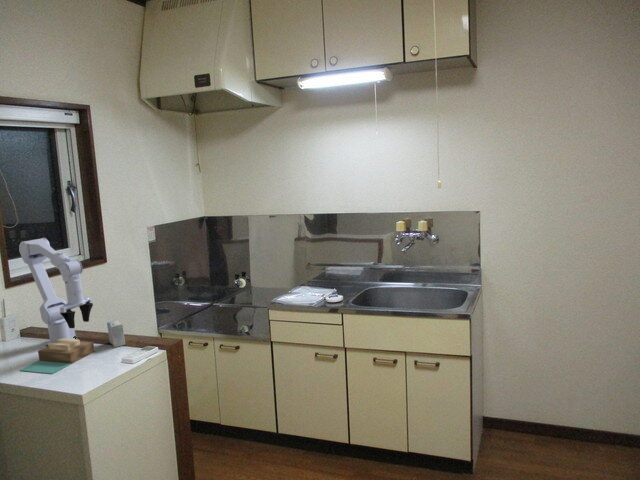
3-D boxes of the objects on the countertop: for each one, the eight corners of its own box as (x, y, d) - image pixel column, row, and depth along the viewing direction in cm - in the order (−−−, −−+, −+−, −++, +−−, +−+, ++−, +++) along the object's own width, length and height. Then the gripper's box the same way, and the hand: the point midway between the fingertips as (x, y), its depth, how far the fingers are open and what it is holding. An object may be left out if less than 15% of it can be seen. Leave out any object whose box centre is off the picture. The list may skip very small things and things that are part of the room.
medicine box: (125, 344, 209) (123, 324, 208) (114, 347, 207) (111, 326, 205) (120, 339, 216) (118, 319, 214) (109, 342, 213) (106, 322, 212)
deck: (63, 349, 208) (62, 339, 208) (94, 351, 204) (93, 341, 203) (39, 361, 197) (37, 351, 197) (71, 363, 193) (69, 353, 192)
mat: (38, 361, 197) (38, 360, 197) (70, 364, 192) (70, 363, 192) (19, 370, 189) (19, 370, 189) (52, 374, 184) (52, 373, 184)
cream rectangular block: (61, 343, 204) (60, 338, 203) (80, 344, 201) (79, 339, 200) (49, 349, 198) (48, 344, 198) (68, 350, 195) (67, 345, 195)
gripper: (68, 296, 196) (73, 331, 198) (96, 286, 209) (100, 319, 212) (53, 296, 198) (58, 330, 200) (81, 286, 211) (86, 318, 214)
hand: (79, 324), depth 206 cm, fingers open, 7 cm apart
